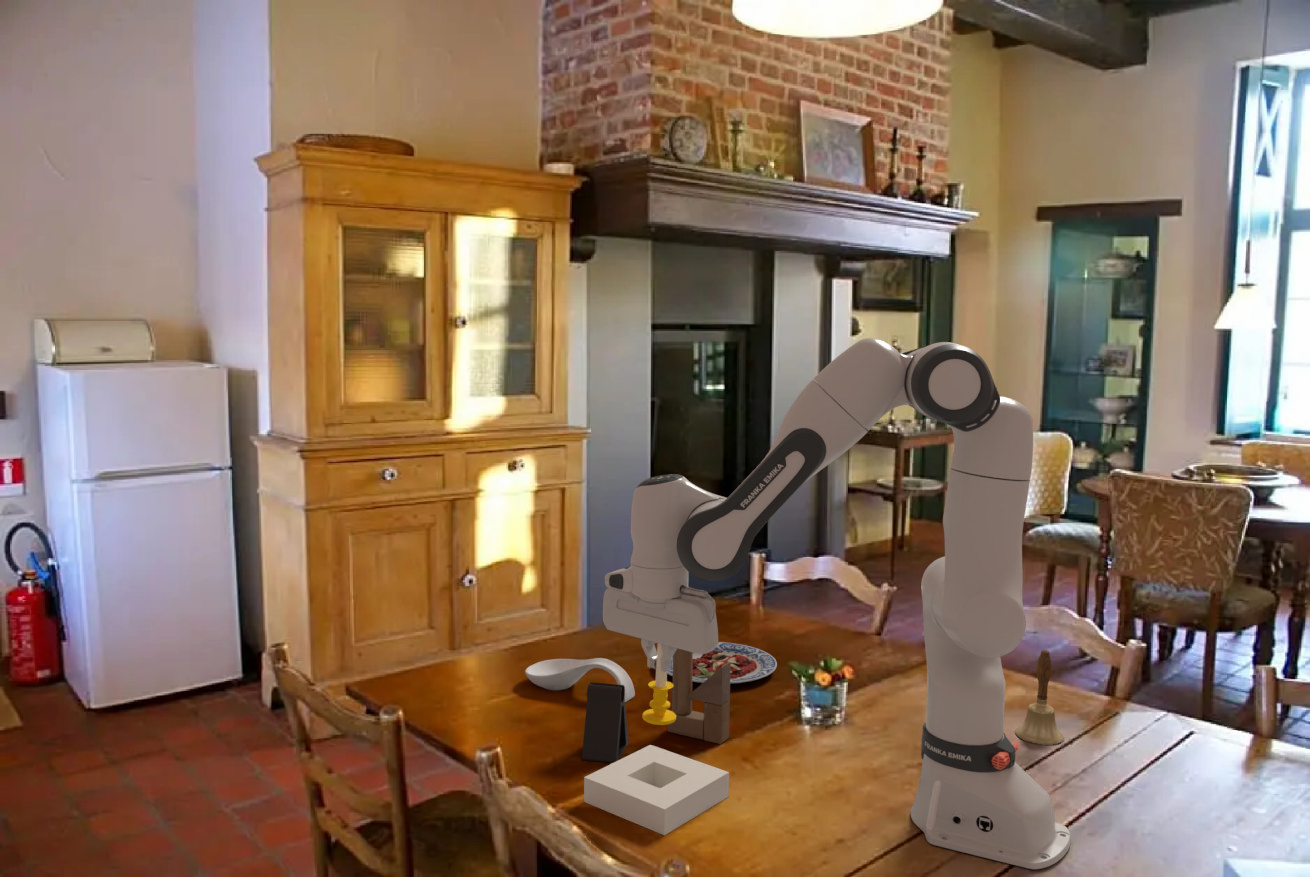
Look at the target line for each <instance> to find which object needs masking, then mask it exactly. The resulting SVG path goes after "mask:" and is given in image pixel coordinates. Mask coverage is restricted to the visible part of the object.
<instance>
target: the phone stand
mask: <svg viewBox="0 0 1310 877" xmlns="http://www.w3.org/2000/svg"><path fill="white" fill-rule="evenodd" d="M586 689H587V690H586V710H585V720H584V731H583V739H582V741H583V743H582V751H581V761H590V762H597V763H598V762H599V763H608V764H609V763H610V764H612V763H614V762H616V761H618V760H620V758H621V756H622V754H623V753H624V752H625V750H626V748H627V746H628V745H629V742H630V740H629V731H628V718H627V709H626V702H625V687H624V685H618V684H617V683H616V684H615V683H614V684H613V683H603V682H592V681H590V682H589V683H588V685H587V688H586Z"/></svg>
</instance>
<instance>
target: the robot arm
mask: <svg viewBox="0 0 1310 877" xmlns="http://www.w3.org/2000/svg"><path fill="white" fill-rule="evenodd" d="M902 406H908V407H911V408H913V409H914V410H916V411H917V412H918V413H920V414H921V415H922V416H925V417H927V418H929V419H932V420H936V421H938V422H941V423H944V424H946V425H948V426H950V427H951V430H952V433H953V434H952V435H953V452H952V455H951V456H952V457H951V463H950V469H949V476H948V482H947V489H946V496H945V502H944V510H943V516H942V526H943V532H944V533H943V534H944V535H943V536H944V556H942V557H939V558H937V559H935V560H933V562H931V563H930V564H929V565H928V566H927V568H926V569H925V570H924V573H923V575H922V578H921V582H920V583H921V586H920V587H921V597H922V618H923V619H922V620H923V636H924V637H923V638H924V649H925V660H926V675H927V678H926V684H927V685H926V704H925V708H926V709H925V722H924V724H923V725H922V732H921V739H920V740H921V741H920V742H921V743H920V745H921V746H920V747H921V748H920V749H921V752H920V753H921V754H920V756H921V759H922V764H921V766H922V767H921V773H920V777H919V783H918V788H917V792H916V796H915V799H914V802H913V804H912V807H911V810H910V819H911V820H912V822H913V824H915V825H916V826H917V827H918V828H919V829H920V830H921V831H922V832H923V833H924V836H925V839H926V841H927V842H928V843H929V844H931V845H933V846H936V847H941V848H944V849H948V850H952V851H957V852H961V853H966V854H969V855H973V856H976V857H981V858H985V859H989V860H993V861H996V862H1002V863H1005V864H1010V865H1013V866H1017V867H1021V868H1026V869H1028V870H1029V869H1030V870H1040V869H1045V868H1048V867H1051V866H1053V865H1054V864H1056V863H1058V862H1059V861H1060V860H1061V859H1062V858H1063V857H1064V856H1065V855H1066V854H1067V852H1068V851H1069V849H1070V847H1071V833H1070V830H1069V828H1067V826H1065V825H1064V824H1061V823H1059V822H1057V821H1056V820H1055V819H1056V818H1055V810H1054V804H1053V801H1052V798H1051V796H1050V795H1049V793H1048V791H1046V790H1045V789H1044V788H1043V787H1042V786H1041V785H1040V784H1039V783H1037V781H1035V779H1033V778H1032V777H1031V776H1030V774H1028V773H1027V772H1026V771H1025V770H1024V769H1023V768H1022V767H1021V766H1020V765H1019V764H1018V763H1017V762H1016V752H1018V750H1019V744H1020V741H1019V740H1016V741H1015V743H1012V742H1011V741H1010V740H1009V739H1008V737H1007V735H1006V733H1005V732H1004V725H1005V724H1004V723H1005V707H1006V706H1005V705H1006V704H1005V703H1006V688H1007V687H1006V686H1007V685H1006V679H1005V674H1004V670H1003V666H1002V664H1003V663H1002V659H1001V657H1003V656H1006V655H1008V654H1010V653H1011V652H1012V651H1013V650H1015V649H1016V648H1017V647H1018V645H1020V643H1021V641H1022V640H1023V638H1024V637H1025V633H1026V629H1027V619H1026V613H1025V610H1024V603H1023V602H1024V601H1023V584H1024V583H1023V582H1024V581H1023V579H1024V578H1023V570H1024V569H1023V529H1024V523H1025V522H1024V521H1025V516H1026V510H1027V502H1028V496H1029V489H1030V484H1031V476H1032V469H1033V459H1034V457H1033V456H1034V423H1033V417H1032V413H1031V412H1030V410H1029V408H1027V407H1026V406H1025V405H1024V404H1023V403H1021V402H1020V401H1018V400H1015V399H1014V398H1010V397H1007V396H1001V395H1000V394H999V390H998V389H997V386H996V383H995V381H994V378H993V376H992V374H991V370H990V369H989V366H988V364H987V363H986V361H985V360H984V359H983V357H982V356H981V355H980V354H979V353H977V352H976V351H975V350H974V349H972V348H970V347H967V346H965V345H961V344H960V343H959V344H958V343H955V342H948V341H941V342H935V343H931V344H928V345H924V346H921V347H917V348H914V349H912V350H908V351H905V352H900V351H899V350H898V349H896V348H895V346H893V345H891V344H890V343H888V342H887V341H884V340H882V339H878V338H875V337H867V338H866V337H865V338H863V339H860V340H858V341H857V342H855V343H854V344H853V345H851V346H849V347H848V348H847V349H845V350H844V351H842V352H841V353H840V354H839V355H838V356H836V357H835V358H834V359H833V360H832V361H830V362H829V363H828V364H827V365H826V366H825V367H824V368H823V369H822V370H821V371H820V372H819V373H818V374H816V375H815V376H814V377H813V379H812V380H811V381H809V383H808V384H807V385H806V386H805V387H804V389H802V391H801V392H800V393H799V394H798V395H797V397H796V398H795V400H794V401H793V402H792V404H791V405H790V407H789V409H788V410H787V412H786V414H785V415H784V417H783V419H782V422H781V424H780V428H779V430H778V432H777V436H776V438H775V440H774V442H773V444H772V446H771V448H770V449H769V450H768V452H767V453H766V455H765V457H764V458H763V459H762V461H761V462H760V463H759V464H758V465H757V466H756V468H755V469H753V470H752V471H751V473H750V474H749V475H748V476H746V478H745V479H744V480H742V482H741V484H739V485H738V486H737V488H736V489H735V490H734V491H733V492H732V493H731V494H730V495H729V496H728V497H727V496H726V497H725V496H722V495H718V494H715V493H714V492H713V493H712V492H710V491H707V490H705V489H703V488H701V487H699V486H697V485H695V484H694V483H692V482H691V481H689V479H687V478H686V477H685V476H683V475H682V474H678V473H675V474H674V473H673V474H672V473H669V474H661V475H656V476H652V477H648V478H646V479H645V480H643V481H642V482H640V483H639V484H638V485H637V486H636V487H635V489H634V491H633V496H632V502H631V511H630V513H631V515H630V536H631V540H632V545H633V546H632V553H631V557H630V565H629V566H626V567H624V568H620V569H617V570H613V571H611V572H608V573H606V574H605V575H604V585H605V586H606V587H607V588H606V589H605V591H604V594H603V599H602V600H603V602H602V621H603V624H604V626H605V628H606V630H609V631H612V632H615V633H619V634H622V635H627V636H631V637H634V638H638V639H641V640H640V641H641V642H640V644H641V648H642V650H643V652H644V654H645V656H646V658H647V659H646V660H647V661H646V662H647V663H646V666H647V668H649V669H653V670H656V668H657V666H656V665H657V647H656V646H655V644H657V643H660V644H661V650H662V651H664V653H663V655H662V657H661V659H660V660H661V671H663V672H666V671H668V670H670V663H671V658H672V656H673V655H674V653H675V651H676V650H677V648H679V649H682V650H686V651H690V652H694V653H697V654H705V653H708V652H710V651H712V650H714V649H715V647H716V646H717V645H718V642H719V632H718V621H717V613H716V607H717V606H716V601H715V599H714V598H713V597H712V596H711V595H710V594H709V593H708V591H706V590H704V589H697V588H693V587H690V586H689V579H690V578H689V576H690V575H689V573H690V574H691V575H692V576H693V577H696V578H697V579H700V580H703V581H707V582H721V581H725V580H728V579H730V578H732V577H734V576H736V575H737V573H739V572H740V570H741V569H742V568H743V567H744V565H745V563H746V561H747V559H748V557H749V553H750V550H751V548H752V544H753V542H754V540H755V538H756V536H757V534H758V533H759V532H760V531H761V529H762V528H763V527H764V526H765V525H766V523H767V522H769V521H770V520H771V518H772V517H773V516H774V515H775V514H776V513H777V512H778V511H779V510H780V509H781V507H783V506H784V505H785V503H786V502H787V501H788V500H789V499H790V498H791V497H792V496H793V495H794V493H796V492H797V491H798V489H800V488H801V487H802V485H804V484H805V483H806V482H807V481H808V480H810V479H811V478H813V476H815V475H816V474H818V473H819V472H821V470H823V469H824V468H826V467H827V466H828V465H830V464H831V463H833V462H834V461H835V460H836V459H838V458H839V457H841V456H842V455H844V453H846V452H847V451H849V450H850V449H851V448H853V446H854V445H856V444H857V443H858V442H859V441H860V440H861V439H862V438H863V437H865V435H867V433H868V432H869V431H870V430H871V429H873V427H874V426H875V425H876V424H877V422H878V421H879V420H880V419H882V417H884V416H885V415H886V414H888V413H889V412H891V411H892V410H894V409H896V408H898V407H902Z"/></svg>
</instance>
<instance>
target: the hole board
mask: <svg viewBox="0 0 1310 877" xmlns="http://www.w3.org/2000/svg"><path fill="white" fill-rule="evenodd" d="M583 778H584V779H583V800H584V801H583V802H584V803H586V804H588V805H590V806H593V807H596V808H598V809H601V810H602V811H605V812H606V813H607V812H608V813H610V814H613V815H614V816H617V817H618V818H621V819H625V820H627V821H629V822H631V823H634V824H637V825H638V826H641V827H643V828H646V829H648V830H650V831H653V832H655V833H657V834H660V835H662V836H667V835H669V833H671V832H673V831H675V830H677V829H678V828H680V827H681V826H683V825H684V824H686V823H687V822H690V821H691V820H692V819H695V818H696V817H697V816H699V815H701V814H703V813H704V812H707V810H709V809H710V808H712V807H714V806H715V805H717V804H719V803H720V802H722V801H724V800H726V799H727V798H728V797H729V796H730V794H729V792H730V772H729V771H727V770H723V769H721V768H718V767H715V766H713V765H709V764H706V763H705V762H701V761H698V760H695V759H692V758H689V757H687V756H684V755H681V754H678V753H675V752H672V751H670V750H667V749H664V748H662V747H659V746H655V745H651V744H649V745H647V746H645V747H642V748H641V749H639V750H637V751H634V752H633V753H630V754H629V755H627V756H624V757H622V758H621V759H620V758H619V760H618V761H616V762H614V763H610V764H609V765H606V766H604V767H602V768H600V769H598V770H596V771H594V772H592V773H590V774H588V775H586V776H584V777H583Z"/></svg>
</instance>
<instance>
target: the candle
mask: <svg viewBox="0 0 1310 877" xmlns="http://www.w3.org/2000/svg"><path fill="white" fill-rule="evenodd" d="M656 644H657V645H656V646H657V647H656V651H657V665H656V666H657V668H656V669H655V680H651V681H649V683H647V684H648V687H649V688H650V689H653V694H652V696H653V698H652V700H650V702H649V707H650V708H649V709H646V710H644V711H643V713H642V716H641V717H642V719H643V721H644V722H646V723H648V724H650V725H651V724H652V725H657V726H665V725H667V726H668V724H671V723H673V722H675V720H676V714H675V713H674V712H672V710H669V708H671V702H670V701H669V700H668V698H669V697H668V696H669V694H668V692H669V690H671V689H673V682H671V681H668V678H667V677H668V674H667V671H666V672H663V671H661V660H660V659H661V657H662V655H663V653H664V651H662V650H661V644H660V643H656Z"/></svg>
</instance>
